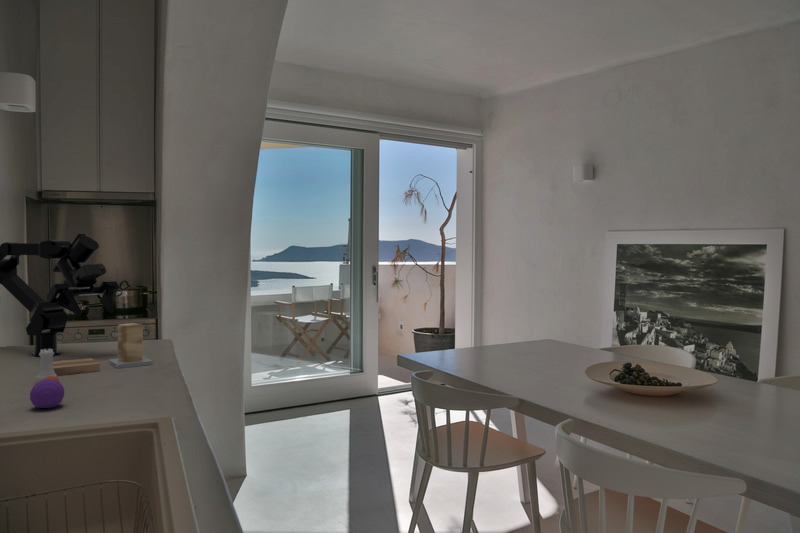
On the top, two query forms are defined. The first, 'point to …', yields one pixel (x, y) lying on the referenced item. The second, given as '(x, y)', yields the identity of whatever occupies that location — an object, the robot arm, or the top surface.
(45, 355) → the rook chess piece
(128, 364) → the slate tile
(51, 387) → the purple round ball
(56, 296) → the robot arm
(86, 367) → the walnut ledge
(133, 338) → the oak block
